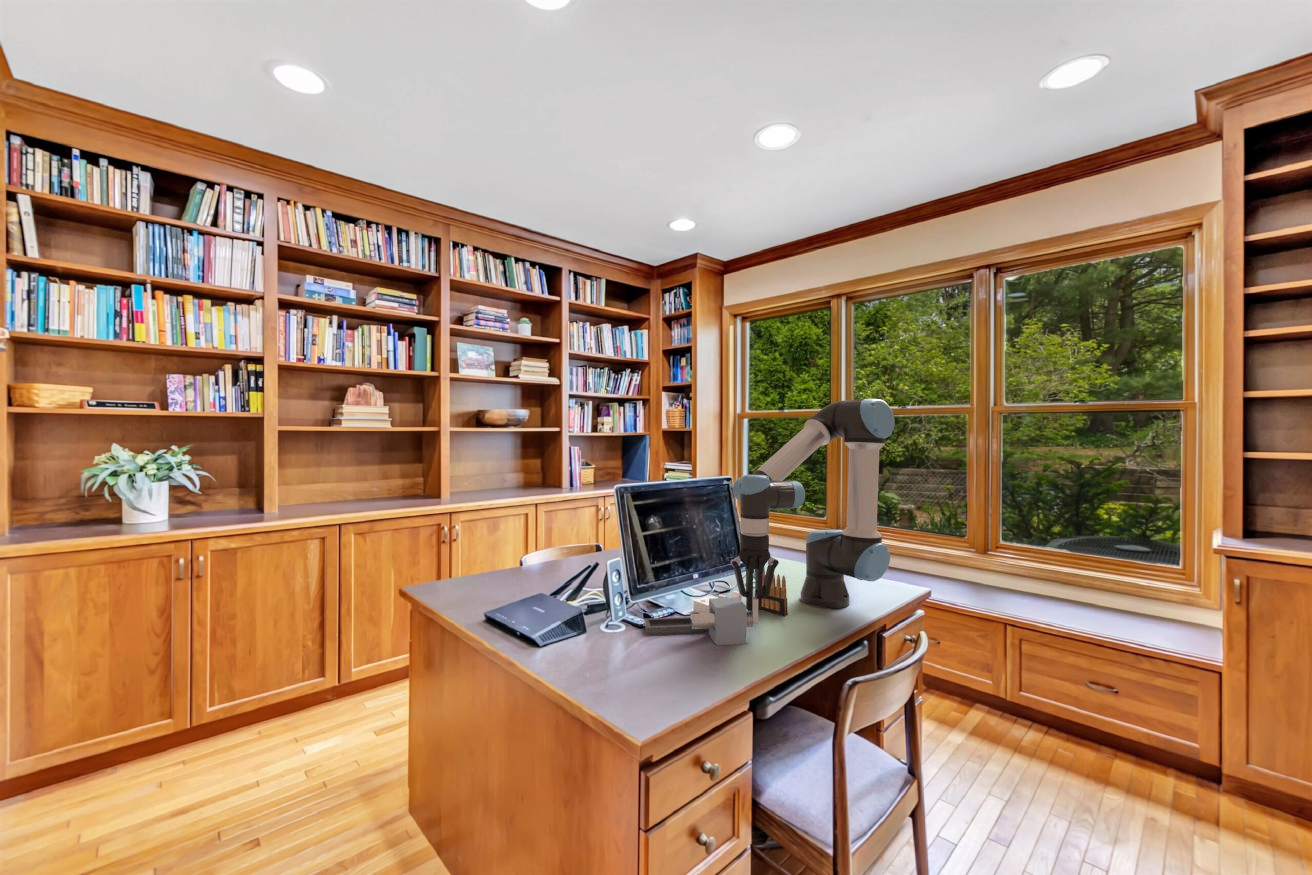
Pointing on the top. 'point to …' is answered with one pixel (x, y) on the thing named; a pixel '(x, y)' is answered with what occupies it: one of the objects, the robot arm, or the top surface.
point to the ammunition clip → (775, 597)
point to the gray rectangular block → (728, 621)
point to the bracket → (703, 603)
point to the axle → (711, 620)
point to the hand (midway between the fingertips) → (753, 622)
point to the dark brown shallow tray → (670, 626)
